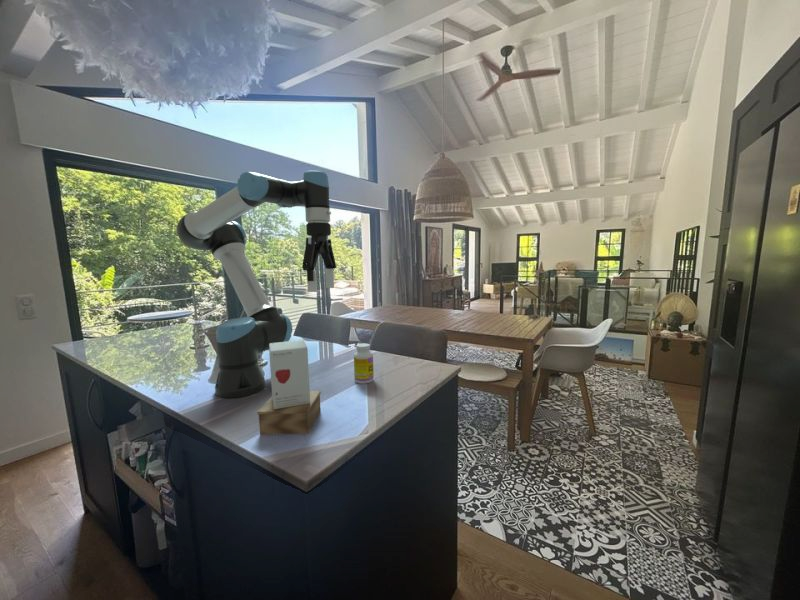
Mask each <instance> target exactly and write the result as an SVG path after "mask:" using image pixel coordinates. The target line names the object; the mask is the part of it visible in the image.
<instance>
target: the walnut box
mask: <svg viewBox="0 0 800 600" xmlns="http://www.w3.org/2000/svg"><path fill="white" fill-rule="evenodd" d="M321 410H322V409H321V390H310V403H309V404H303V405H297V406H292V407H286V408H280V409H274V407H273V399H272V396H271V397H270V398H269V399H268V400H266V402H265V403H264V404H263V405H262V406H260V408H259V409H258V410H257V411H256V412H257V413H256V414H257V415H258V423H259V426H258V427H259V435H309V433H310V432H311V431H312V428H313V426H314V425H315V423H316V421H317V420H318V417H319V416H320V414H321V412H322V411H321Z"/></svg>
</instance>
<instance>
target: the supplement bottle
mask: <svg viewBox="0 0 800 600" xmlns="http://www.w3.org/2000/svg"><path fill="white" fill-rule="evenodd" d="M355 348H356V352H354V354H353V369H354V371H353V375H354V382H355V383H357V384H362V385H363V384H369V383H372V382H373V381H374V354H373V352H372V351H370V349H371V344H370V343H366V342H365V343H364V342H363V343H358V344H356V346H355Z"/></svg>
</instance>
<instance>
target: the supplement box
mask: <svg viewBox="0 0 800 600" xmlns="http://www.w3.org/2000/svg"><path fill="white" fill-rule="evenodd" d="M305 342H306V341H305V340H304V339H300V340H289V341H286V342H277V343H270V344H269V350H268V351H269V366H270V367H269V369H270V370H269V371H270V372H269V373H270V383H271V384H270V385H271V387H270V388H271V395H272V396H271V397H272V399H273V407H274V409H280V408H286V407H292V406H297V405H303V404H309V403H310V391H311V390H310V374H309V373H310V371H309V353H308V346H307V344H306V343H305Z"/></svg>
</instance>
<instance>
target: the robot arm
mask: <svg viewBox="0 0 800 600" xmlns="http://www.w3.org/2000/svg"><path fill="white" fill-rule="evenodd" d="M329 185H330V184H329V177H328V174H327V173H326V172H324V171H320V170H315V169H314V170H307V171H304V173H303V178H302V180H298V181H288V180H285V179H282V178H281V179H280V178H277V177H272V176H268V175H266V174H261V173H259V172H254V171H253V172H252V171H244V172H242V173H241V174H240V175H239V178H238V179H237V183H236V186H235V187H234V188H231V190H229V191H227V192H226V193H224V194H223V195H220V196H219V197H218V198H216V199H215V200H213V201H212V202H210V203H208V204H207V205H205V206H204V207H202V208H201V209H199V210H197V211H195V210H193V211H190V212H188V213H186V214H185V215H184V216H181V218H180V219H179V221H178V222H177V224H176V234H177V236H178V239H179V240H180V241H181V242H182V244H184V245H185V246H186V247H188V248H191V249H193V250H197V251H209V252H210V253H211V254H212V256H213V258H214V260H217V261H220V263H221V265H222V267H223V269H224V271H225V273H226V275H227V277H228V280H229V281H230V283H231V285H232V287H233V289H234V291H235V293H236V295H237V297H238V300H239V301H240V304H241V305H242V308H243V310H244V312H245V313H246V316H240V317H237V318H232V319H227V320H225V321H222V322H220V323H219V324H218V325H217V327H216V330H215V331H216V332H215V333H216V335H215V341H216V347H217V357H218V358H217V360H218V367H219V369H218V370H219V371H218V374H217V378H216V382H215V385H214V386H215V387H214V391H215V396H217V397H219V396H220V397H219V398H223V397H224V398H226V399H231V398H242V397H246V396H249V395H254V394H256V393H258V392H260V391H262V390H264V388H265V387H266V379H265V377H264V375H263V372H262V370H261V368H260V366H259V359H258V354H260V353H264V352H266V351H269V344H270V343H277V342H286V341H291V338H292V334H293V324H292V321H291V319H290V318H289V317H288V315H285V314H284V313H279V311H278V308H277V307H276V306H274V305H271V304H270V302H269V300H268V299H267V296H266V294H265V292H264V289H262V287H261V284H260V282H259V280H258V278H257V277H256V274H255V273H254V271H253V268H252V267H251V264H250V262H249V261H248V259H247V256H246V254H245V253H244V251H245V249H246V244H247V239H246V238H247V235H246V231H245V229H244V227H243V225H241V224H240V223H239V222H237V221H235V220H236V219H238V218H239V217H241V216H243V215H245V214H246V213H248V212H250V211H252V210H253V209H255V208H256V207H259V206H261V205H262V204H264V203H268V204H269V203H270V204H274V205H275V204H276V206H278V207H280V208H288V209H290V208H291V209H292V208H294V207H301V206H304V208H305V209H304V210H305V221H306V224H305V227H306V235H307V236H308V237H306V238H305V247H304V248H305V249H304V252H303V253H304V255H303V260H302V264H301V265H302V270H303V271H306V282H307V292H308V293H317V292H318V284H317V283H318V282H317V270H315V268H316V266H317V262H318V259H319V256H321V259H322V261H323V263H324V266H325V268H324V272H325V273H324V276H325V277H324V278H325V289H333V288H335V280H334V279H335V278H334V275H335V274H334V269H337V264H336V259H335V255H334V250H333V246H332V239H331V238H327V237H329V236H331V235H332V230H331V229H332V227H331V224H330V222H331V215H332V211H330V210H331V209H330V208H331V207H330V186H329Z"/></svg>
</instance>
